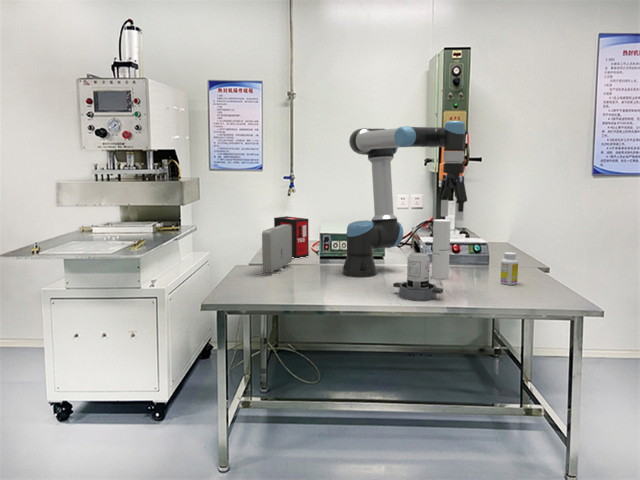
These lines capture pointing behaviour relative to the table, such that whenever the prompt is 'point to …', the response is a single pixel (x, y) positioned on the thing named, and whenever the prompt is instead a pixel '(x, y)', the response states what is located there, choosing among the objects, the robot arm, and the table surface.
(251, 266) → the table surface
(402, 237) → the robot arm
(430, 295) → the cooker pot
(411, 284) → the supplement can
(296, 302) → the table surface
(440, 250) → the cylindrical container
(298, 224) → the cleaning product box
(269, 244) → the network device
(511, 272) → the supplement bottle
